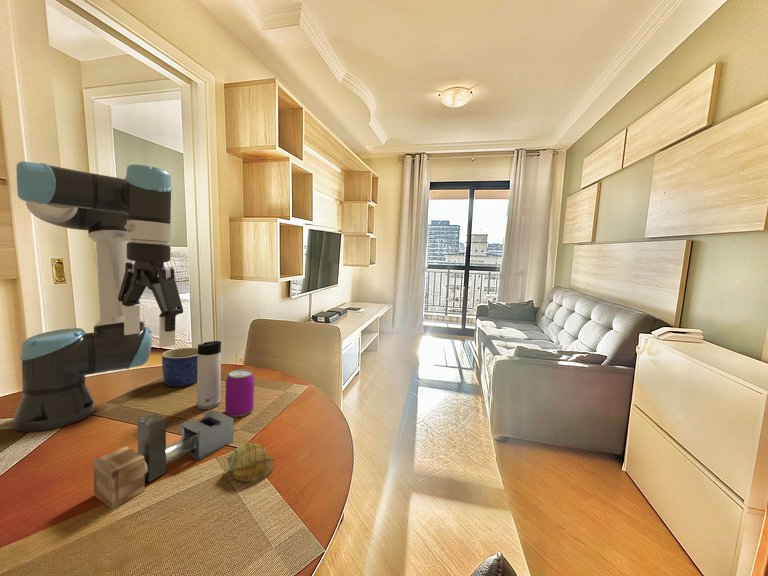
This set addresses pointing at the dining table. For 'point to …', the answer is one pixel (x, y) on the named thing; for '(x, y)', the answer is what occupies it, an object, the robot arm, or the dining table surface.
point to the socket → (119, 476)
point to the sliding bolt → (159, 445)
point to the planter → (180, 366)
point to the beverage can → (239, 393)
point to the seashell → (250, 463)
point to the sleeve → (209, 433)
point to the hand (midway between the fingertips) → (148, 339)
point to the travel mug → (208, 374)
